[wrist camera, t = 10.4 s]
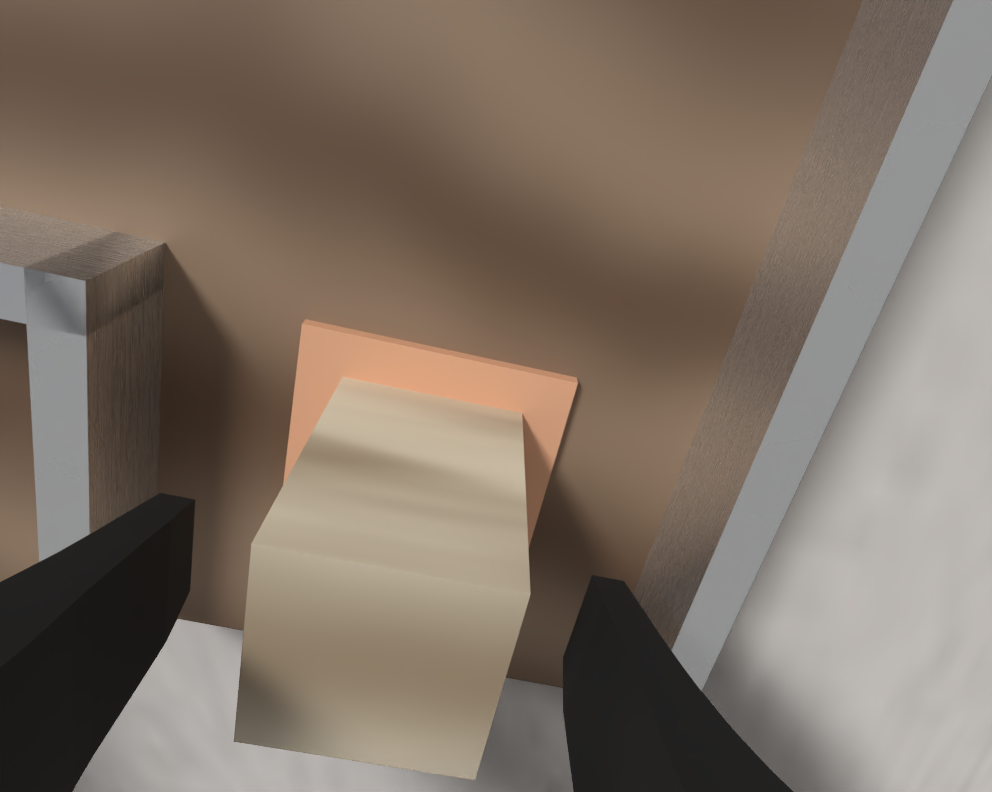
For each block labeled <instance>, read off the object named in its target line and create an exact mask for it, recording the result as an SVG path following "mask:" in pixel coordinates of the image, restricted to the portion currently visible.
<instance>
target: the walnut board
mask: <svg viewBox="0 0 992 792" xmlns="http://www.w3.org/2000/svg"><path fill="white" fill-rule="evenodd" d="M862 1H863V0H0V206H3V207H7V208H12V209H16V210H21V211H25V212H30V213H34V214H39V215H43V216H48V217H52V218H57V219H62V220H66V221H71V222H75V223H80V224H84V225H89V226H93V227H98V228H102V229H107V230H111V231H116V232H121V233H125V234H130V235H134V236H139V237H143V238H148V239H152V240H157V241H161V242H165V260H164V293H163V325H162V358H161V391H160V423H159V456H158V488H157V494H159V493H164V494H169V495H175V496H180V497H185V498H190V499H195V516H194V533H193V551H192V568H191V586H190V592H189V594H188V596H187V599H186V601H185V603H184V605H183V607H182V609H181V612H180V614H179V616H178V618H177V619H183V620H188V621H194V622H199V623H205V624H210V625H216V626H222V627H227V628H233V629H238V630H244V622H245V610H246V599H247V588H248V576H249V565H250V554H251V543H252V542H253V540H254V538H255V536H256V534H257V532H258V531H259V529H260V527H261V525H262V523H263V521H264V520H265V518H266V516H267V514H268V512H269V510H270V509H271V507H272V505H273V503H274V501H275V499H276V498H277V496H278V494H279V492H280V490H281V488H282V487H283V481H284V473H285V464H286V456H287V447H288V439H289V430H290V422H291V413H292V404H293V396H294V387H295V379H296V370H297V362H298V353H299V345H300V336H301V327H302V323H303V322H304V321H305V319H307V320H312V321H316V322H321V323H326V324H330V325H335V326H339V327H344V328H349V329H353V330H358V331H363V332H367V333H372V334H377V335H381V336H386V337H391V338H395V339H400V340H405V341H409V342H414V343H418V344H423V345H428V346H432V347H437V348H442V349H446V350H451V351H456V352H460V353H465V354H470V355H474V356H479V357H483V358H488V359H493V360H497V361H502V362H507V363H511V364H516V365H521V366H525V367H530V368H535V369H539V370H544V371H549V372H553V373H558V374H562V375H567V376H572V377H576V378H577V381H578V385H577V388H576V391H575V395H574V398H573V401H572V405H571V408H570V411H569V415H568V418H567V421H566V425H565V428H564V432H563V435H562V438H561V442H560V445H559V448H558V452H557V455H556V458H555V462H554V465H553V468H552V472H551V475H550V478H549V482H548V485H547V488H546V492H545V495H544V499H543V502H542V505H541V509H540V512H539V515H538V519H537V522H536V525H535V529H534V532H533V535H532V539H531V542H530V545H529V549H528V550H529V571H530V593H531V595H530V598H529V601H528V605H527V608H526V611H525V615H524V618H523V621H522V625H521V628H520V631H519V635H518V638H517V641H516V645H515V648H514V651H513V655H512V658H511V662H510V665H509V668H508V672H507V675H506V678H512V679H517V680H523V681H528V682H534V683H540V684H545V685H551V686H556V687H562V688H563V656H564V653H565V650H566V648H567V645H568V642H569V639H570V636H571V633H572V630H573V628H574V625H575V622H576V619H577V616H578V613H579V611H580V608H581V605H582V602H583V599H584V596H585V593H586V591H587V588H588V585H589V582H590V579H591V576H592V575H595V576H600V577H606V578H611V579H616V580H621V581H624V582H625V583H626V585H627V586H628V587H629V589H630V590H631V592H632V593H633V594H634V591H635V588H636V586H637V583H638V581H639V578H640V576H641V573H642V570H643V568H644V565H645V563H646V560H647V557H648V555H649V552H650V550H651V547H652V544H653V542H654V539H655V537H656V534H657V532H658V529H659V526H660V524H661V521H662V519H663V516H664V513H665V511H666V508H667V506H668V503H669V501H670V498H671V495H672V493H673V490H674V488H675V485H676V482H677V480H678V477H679V475H680V472H681V469H682V467H683V464H684V462H685V459H686V457H687V454H688V451H689V449H690V446H691V444H692V441H693V438H694V436H695V433H696V431H697V428H698V425H699V423H700V420H701V418H702V415H703V413H704V410H705V407H706V405H707V402H708V400H709V397H710V394H711V392H712V389H713V387H714V384H715V381H716V379H717V376H718V374H719V371H720V369H721V366H722V363H723V361H724V358H725V356H726V353H727V350H728V348H729V345H730V343H731V340H732V338H733V335H734V332H735V330H736V327H737V325H738V322H739V319H740V317H741V314H742V312H743V309H744V306H745V304H746V301H747V299H748V296H749V294H750V291H751V288H752V286H753V283H754V281H755V278H756V275H757V273H758V270H759V268H760V265H761V262H762V260H763V257H764V255H765V252H766V250H767V247H768V244H769V242H770V239H771V237H772V234H773V231H774V229H775V226H776V224H777V221H778V219H779V216H780V213H781V211H782V208H783V206H784V203H785V200H786V198H787V195H788V193H789V190H790V187H791V185H792V182H793V180H794V177H795V175H796V172H797V169H798V167H799V164H800V162H801V159H802V156H803V154H804V151H805V149H806V146H807V143H808V141H809V138H810V136H811V133H812V131H813V128H814V125H815V123H816V120H817V118H818V115H819V112H820V110H821V107H822V105H823V102H824V99H825V97H826V94H827V92H828V89H829V87H830V84H831V81H832V79H833V76H834V74H835V71H836V68H837V66H838V63H839V61H840V58H841V56H842V53H843V50H844V48H845V45H846V43H847V40H848V37H849V35H850V32H851V30H852V27H853V24H854V22H855V19H856V17H857V14H858V12H859V9H860V6H861V4H862ZM38 562H39V548H38V529H37V510H36V492H35V473H34V454H33V436H32V417H31V398H30V379H29V361H28V342H27V324H24V323H19V322H14V321H9V320H5V319H0V582H1V581H3V580H5V579H7V578H9V577H11V576H13V575H15V574H17V573H19V572H21V571H23V570H25V569H27V568H28V567H30V566H32V565H34V564H36V563H38Z"/></svg>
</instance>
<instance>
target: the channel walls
mask: <svg viewBox="0 0 992 792" xmlns="http://www.w3.org/2000/svg"><path fill="white" fill-rule="evenodd" d="M991 76H992V0H863V1H862V4H861V6H860V9H859V12H858V14H857V17H856V19H855V22H854V24H853V27H852V30H851V32H850V35H849V37H848V40H847V43H846V45H845V48H844V50H843V53H842V56H841V58H840V61H839V63H838V66H837V68H836V71H835V74H834V76H833V79H832V81H831V84H830V87H829V89H828V92H827V94H826V97H825V99H824V102H823V105H822V107H821V110H820V112H819V115H818V118H817V120H816V123H815V125H814V128H813V131H812V133H811V136H810V138H809V141H808V143H807V146H806V149H805V151H804V154H803V156H802V159H801V162H800V164H799V167H798V169H797V172H796V175H795V177H794V180H793V182H792V185H791V187H790V190H789V193H788V195H787V198H786V200H785V203H784V206H783V208H782V211H781V213H780V216H779V219H778V221H777V224H776V226H775V229H774V231H773V234H772V237H771V239H770V242H769V244H768V247H767V250H766V252H765V255H764V257H763V260H762V262H761V265H760V268H759V270H758V273H757V275H756V278H755V281H754V283H753V286H752V288H751V291H750V294H749V296H748V299H747V301H746V304H745V306H744V309H743V312H742V314H741V317H740V319H739V322H738V325H737V327H736V330H735V332H734V335H733V338H732V340H731V343H730V345H729V348H728V350H727V353H726V356H725V358H724V361H723V363H722V366H721V369H720V371H719V374H718V376H717V379H716V381H715V384H714V387H713V389H712V392H711V394H710V397H709V400H708V402H707V405H706V407H705V410H704V413H703V415H702V418H701V420H700V423H699V425H698V428H697V431H696V433H695V436H694V438H693V441H692V444H691V446H690V449H689V451H688V454H687V457H686V459H685V462H684V464H683V467H682V469H681V472H680V475H679V477H678V480H677V482H676V485H675V488H674V490H673V493H672V495H671V498H670V501H669V503H668V506H667V508H666V511H665V513H664V516H663V519H662V521H661V524H660V526H659V529H658V532H657V534H656V537H655V539H654V542H653V544H652V547H651V550H650V552H649V555H648V557H647V560H646V563H645V565H644V568H643V570H642V573H641V576H640V578H639V581H638V583H637V586H636V588H635V591H634V594H633V595H634V596H635V598H636V599H637V601H638V602H639V604H640V605H641V607H642V608H643V610H644V611H645V613H646V614H647V616H648V617H649V619H650V620H651V622H652V623H653V625H654V626H655V628H656V629H657V631H658V632H659V634H660V635H661V637H662V638H663V639H664V641H665V642H666V644H667V645H668V647H669V648H670V649H671V651H672V652H673V654H674V655H675V656H676V658H677V659H678V661H679V662H680V663H681V665H682V666H683V668H684V669H685V670H686V672H687V673H688V674H689V676H690V677H691V678H692V680H693V681H694V682H695V683H696V685H697V686H698V687H699V689H700V690H701V691H702V689H703V687H704V685H705V683H706V681H707V679H708V677H709V674H710V672H711V670H712V668H713V666H714V664H715V662H716V660H717V657H718V655H719V653H720V651H721V649H722V647H723V645H724V643H725V640H726V638H727V636H728V634H729V632H730V630H731V628H732V626H733V623H734V621H735V619H736V617H737V615H738V613H739V611H740V609H741V606H742V604H743V602H744V600H745V598H746V596H747V594H748V592H749V590H750V587H751V585H752V583H753V581H754V579H755V577H756V575H757V573H758V570H759V568H760V566H761V564H762V562H763V560H764V558H765V556H766V553H767V551H768V549H769V547H770V545H771V543H772V541H773V539H774V536H775V534H776V532H777V530H778V528H779V526H780V524H781V522H782V519H783V517H784V515H785V513H786V511H787V509H788V507H789V505H790V503H791V500H792V498H793V496H794V494H795V492H796V490H797V488H798V486H799V483H800V481H801V479H802V477H803V475H804V473H805V471H806V469H807V466H808V464H809V462H810V460H811V458H812V456H813V454H814V452H815V449H816V447H817V445H818V443H819V441H820V439H821V437H822V435H823V432H824V430H825V428H826V426H827V424H828V422H829V420H830V418H831V415H832V413H833V411H834V409H835V407H836V405H837V403H838V401H839V399H840V396H841V394H842V392H843V390H844V388H845V386H846V384H847V382H848V379H849V377H850V375H851V373H852V371H853V369H854V367H855V365H856V362H857V360H858V358H859V356H860V354H861V352H862V350H863V348H864V345H865V343H866V341H867V339H868V337H869V335H870V333H871V331H872V328H873V326H874V324H875V322H876V320H877V318H878V316H879V314H880V311H881V309H882V307H883V305H884V303H885V301H886V299H887V297H888V295H889V292H890V290H891V288H892V286H893V284H894V282H895V280H896V278H897V275H898V273H899V271H900V269H901V267H902V265H903V263H904V261H905V258H906V256H907V254H908V252H909V250H910V248H911V246H912V244H913V241H914V239H915V237H916V235H917V233H918V231H919V229H920V227H921V224H922V222H923V220H924V218H925V216H926V214H927V212H928V210H929V208H930V205H931V203H932V201H933V199H934V197H935V195H936V193H937V191H938V188H939V186H940V184H941V182H942V180H943V178H944V176H945V174H946V171H947V169H948V167H949V165H950V163H951V161H952V159H953V157H954V154H955V152H956V150H957V148H958V146H959V144H960V142H961V140H962V137H963V135H964V133H965V131H966V129H967V127H968V125H969V123H970V120H971V118H972V116H973V114H974V112H975V110H976V108H977V106H978V104H979V101H980V99H981V97H982V95H983V93H984V91H985V89H986V87H987V84H988V82H989V80H990V78H991ZM164 260H165V242H161V241H157V240H152V239H148V238H143V237H139V236H134V235H130V234H125V233H121V232H116V231H111V230H107V229H102V228H98V227H93V226H89V225H84V224H80V223H75V222H71V221H66V220H62V219H57V218H52V217H48V216H43V215H39V214H34V213H30V212H25V211H21V210H16V209H12V208H7V207H3V206H0V319H5V320H9V321H14V322H19V323H24V324H27V342H28V361H29V379H30V398H31V417H32V436H33V454H34V473H35V492H36V510H37V529H38V548H39V562H40V561H42V560H44V559H46V558H48V557H50V556H52V555H54V554H56V553H57V552H59V551H61V550H63V549H65V548H66V547H68V546H70V545H72V544H73V543H75V542H77V541H79V540H80V539H82V538H84V537H86V536H87V535H89V534H91V533H93V532H94V531H96V530H98V529H99V528H101V527H103V526H105V525H106V524H108V523H110V522H111V521H113V520H115V519H116V518H118V517H120V516H121V515H123V514H125V513H126V512H128V511H130V510H132V509H133V508H135V507H137V506H138V505H140V504H142V503H143V502H145V501H147V500H148V499H150V498H152V497H154V496H156V495H157V488H158V456H159V423H160V391H161V358H162V325H163V293H164Z"/></svg>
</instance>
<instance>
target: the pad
mask: <svg viewBox="0 0 992 792" xmlns="http://www.w3.org/2000/svg"><path fill="white" fill-rule="evenodd" d="M342 377H346V378H351V379H356V380H361V381H366V382H371V383H376V384H381V385H386V386H391V387H396V388H401V389H406V390H411V391H416V392H421V393H426V394H431V395H435V396H440V397H445V398H450V399H455V400H460V401H465V402H470V403H475V404H480V405H485V406H490V407H495V408H500V409H505V410H510V411H515V412H520V413H522V420H523V441H524V463H525V485H526V506H527V528H528V549H529V545H530V542H531V539H532V535H533V532H534V529H535V525H536V522H537V519H538V515H539V512H540V509H541V505H542V502H543V499H544V495H545V492H546V488H547V485H548V482H549V478H550V475H551V472H552V468H553V465H554V462H555V458H556V455H557V452H558V448H559V445H560V442H561V438H562V435H563V432H564V428H565V425H566V421H567V418H568V415H569V411H570V408H571V405H572V401H573V398H574V395H575V391H576V388H577V385H578V381H577V378H576V377H572V376H567V375H562V374H558V373H553V372H549V371H544V370H539V369H535V368H530V367H525V366H521V365H516V364H511V363H507V362H502V361H497V360H493V359H488V358H483V357H479V356H474V355H470V354H465V353H460V352H456V351H451V350H446V349H442V348H437V347H432V346H428V345H423V344H418V343H414V342H409V341H405V340H400V339H395V338H391V337H386V336H381V335H377V334H372V333H367V332H363V331H358V330H353V329H349V328H344V327H339V326H335V325H330V324H326V323H321V322H316V321H312V320H307V319H305V321H304V322H303V323H302V327H301V336H300V345H299V353H298V362H297V370H296V379H295V387H294V396H293V404H292V413H291V422H290V430H289V439H288V447H287V456H286V464H285V473H284V481H283V485H284V483H285V481H286V479H287V477H288V476H289V474H290V472H291V470H292V468H293V466H294V465H295V463H296V461H297V459H298V457H299V456H300V454H301V452H302V450H303V448H304V446H305V445H306V443H307V441H308V439H309V437H310V435H311V434H312V432H313V430H314V428H315V426H316V424H317V423H318V421H319V419H320V417H321V415H322V413H323V412H324V410H325V408H326V406H327V404H328V402H329V401H330V399H331V397H332V395H333V393H334V391H335V390H336V388H337V386H338V384H339V382H340V380H341V379H342Z"/></svg>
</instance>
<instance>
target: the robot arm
mask: <svg viewBox="0 0 992 792" xmlns="http://www.w3.org/2000/svg"><path fill="white" fill-rule="evenodd" d="M194 516H195V499H190V498H185V497H180V496H175V495H169V494H164V493H159V494H157V495H156V496H154V497H152V498H150V499H148V500H147V501H145V502H143V503H142V504H140V505H138V506H137V507H135V508H133V509H132V510H130V511H128V512H126V513H125V514H123V515H121V516H120V517H118V518H116V519H115V520H113V521H111V522H110V523H108V524H106V525H105V526H103V527H101V528H99V529H98V530H96V531H94V532H93V533H91V534H89V535H87V536H86V537H84V538H82V539H80V540H79V541H77V542H75V543H73V544H72V545H70V546H68V547H66V548H65V549H63V550H61V551H59V552H57V553H56V554H54V555H52V556H50V557H48V558H46V559H44V560H42V561H40V562H38V563H36V564H34V565H32V566H30V567H28V568H27V569H25V570H23V571H21V572H19V573H17V574H15V575H13V576H11V577H9V578H7V579H5V580H3V581H1V582H0V792H72V791H73V789H74V787H75V785H76V784H77V782H78V780H79V779H80V777H81V775H82V773H83V772H84V770H85V768H86V767H87V765H88V763H89V762H90V760H91V758H92V757H93V755H94V754H95V752H96V750H97V749H98V747H99V746H100V744H101V743H102V741H103V740H104V738H105V736H106V735H107V733H108V732H109V730H110V729H111V727H112V726H113V724H114V722H115V721H116V719H117V718H118V716H119V715H120V713H121V712H122V710H123V708H124V707H125V705H126V704H127V702H128V701H129V699H130V698H131V696H132V695H133V693H134V691H135V690H136V688H137V687H138V685H139V684H140V682H141V681H142V679H143V677H144V676H145V674H146V673H147V671H148V670H149V668H150V666H151V665H152V663H153V662H154V660H155V658H156V657H157V655H158V654H159V652H160V650H161V649H162V647H163V646H164V644H165V642H166V641H167V638H168V636H169V634H170V632H171V630H172V628H173V626H174V624H175V622H176V620H177V618H178V616H179V614H180V612H181V609H182V607H183V605H184V603H185V601H186V599H187V596H188V594H189V592H190V586H191V568H192V551H193V533H194ZM563 712H564V720H565V729H566V736H567V744H568V752H569V760H570V767H571V774H572V782H573V789H574V792H793V791H792V790H791V789H790V788H789V787H788V786H787V785H786V784H785V783H784V782H782V781H781V780H780V779H779V778H778V777H777V776H776V775H775V774H774V773H773V772H772V771H771V770H770V769H769V768H768V767H767V765H766V764H765V763H764V762H763V761H762V760H761V759H760V758H759V757H758V756H757V755H756V754H755V753H754V752H753V751H752V749H751V748H750V747H749V746H748V745H747V744H746V743H745V742H744V741H743V740H742V739H741V738H740V737H739V735H738V734H737V733H736V732H735V731H734V730H733V729H732V728H731V726H730V725H729V724H728V723H727V722H726V721H725V719H724V718H723V717H722V716H721V715H720V714H719V712H718V711H717V710H716V709H715V707H714V706H713V705H712V704H711V702H710V701H709V700H708V699H707V697H706V696H705V695H704V694H703V692H702V691H701V690H700V689H699V687H698V686H697V685H696V683H695V682H694V681H693V680H692V678H691V677H690V676H689V674H688V673H687V672H686V670H685V669H684V668H683V666H682V665H681V663H680V662H679V661H678V659H677V658H676V656H675V655H674V654H673V652H672V651H671V649H670V648H669V647H668V645H667V644H666V642H665V641H664V639H663V638H662V637H661V635H660V634H659V632H658V631H657V629H656V628H655V626H654V625H653V623H652V622H651V620H650V619H649V617H648V616H647V614H646V613H645V611H644V610H643V608H642V607H641V605H640V604H639V602H638V601H637V599H636V598H635V596H634V595H633V593H632V592H631V590H630V589H629V587H628V586H627V585H626V583H625V582H624V581H621V580H616V579H611V578H606V577H600V576H595V575H592V576H591V579H590V582H589V585H588V588H587V591H586V593H585V596H584V599H583V602H582V605H581V608H580V611H579V613H578V616H577V619H576V622H575V625H574V628H573V630H572V633H571V636H570V639H569V642H568V645H567V648H566V650H565V653H564V656H563Z"/></svg>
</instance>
